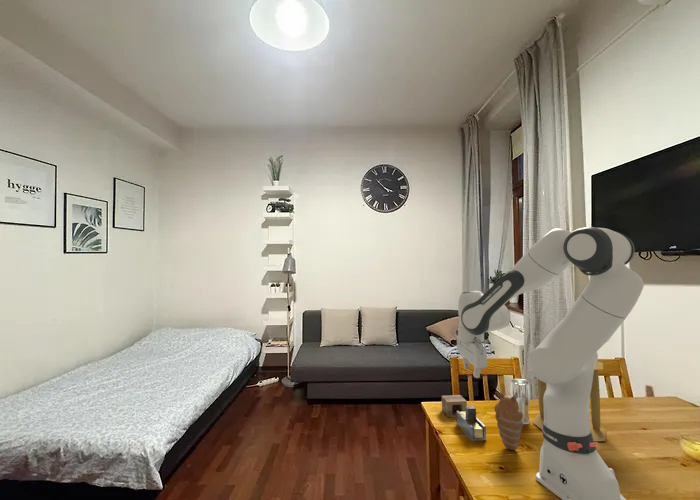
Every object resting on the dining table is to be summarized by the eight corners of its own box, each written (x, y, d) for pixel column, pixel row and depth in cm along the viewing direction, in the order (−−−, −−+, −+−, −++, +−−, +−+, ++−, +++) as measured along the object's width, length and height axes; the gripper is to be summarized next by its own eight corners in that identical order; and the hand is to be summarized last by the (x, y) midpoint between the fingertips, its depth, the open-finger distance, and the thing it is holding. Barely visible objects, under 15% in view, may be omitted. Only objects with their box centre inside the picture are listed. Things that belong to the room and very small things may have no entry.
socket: (467, 416, 137) (466, 401, 137) (447, 417, 136) (447, 402, 136) (460, 409, 143) (460, 394, 144) (442, 410, 143) (441, 395, 143)
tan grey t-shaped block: (482, 437, 118) (482, 414, 118) (474, 438, 118) (473, 415, 118) (466, 419, 132) (465, 398, 132) (458, 419, 132) (458, 399, 132)
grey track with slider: (486, 441, 118) (485, 426, 118) (471, 441, 117) (471, 427, 118) (470, 423, 131) (469, 410, 131) (456, 424, 130) (456, 410, 131)
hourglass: (539, 438, 119) (537, 365, 120) (527, 411, 141) (524, 349, 142) (620, 448, 112) (616, 370, 113) (594, 418, 134) (591, 353, 135)
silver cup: (535, 425, 129) (533, 384, 129) (516, 425, 129) (514, 384, 129) (525, 416, 136) (524, 378, 136) (508, 416, 136) (506, 378, 136)
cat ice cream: (491, 448, 113) (490, 393, 114) (503, 440, 118) (501, 387, 119) (519, 459, 106) (517, 401, 107) (529, 450, 111) (527, 394, 112)
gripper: (491, 341, 115) (492, 383, 115) (469, 328, 135) (470, 364, 135) (473, 341, 115) (473, 383, 115) (453, 329, 135) (454, 364, 135)
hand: (471, 372), depth 125 cm, fingers open, 8 cm apart
